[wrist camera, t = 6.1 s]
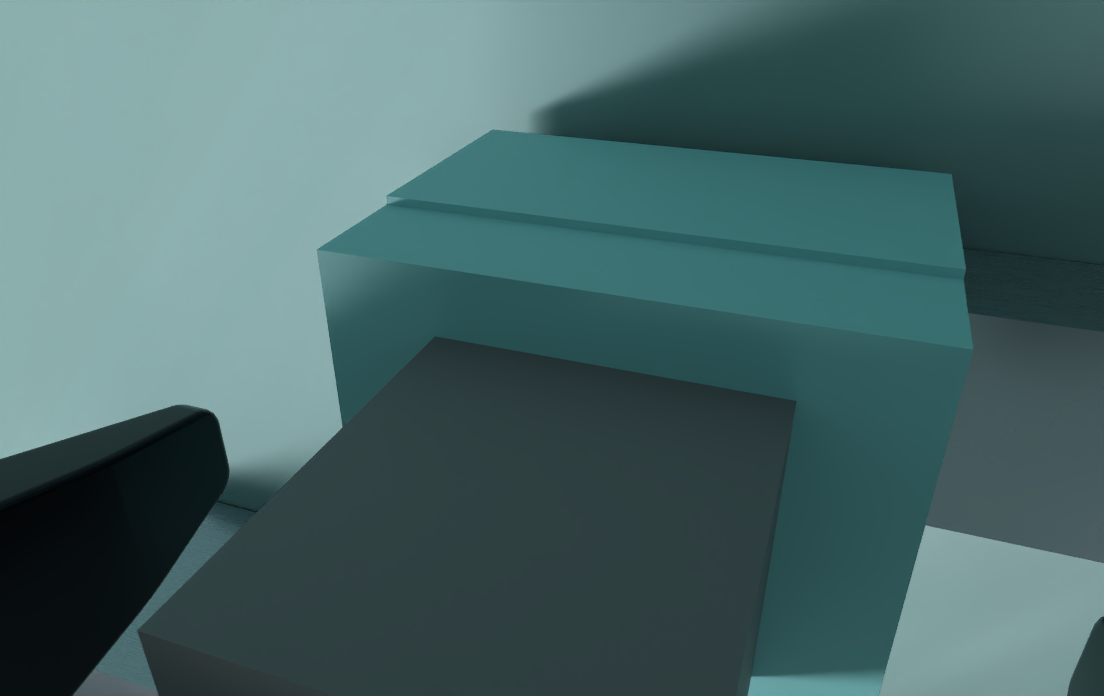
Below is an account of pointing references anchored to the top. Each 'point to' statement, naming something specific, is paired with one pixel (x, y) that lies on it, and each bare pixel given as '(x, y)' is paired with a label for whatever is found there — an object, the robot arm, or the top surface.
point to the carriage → (604, 436)
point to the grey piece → (123, 674)
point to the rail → (1029, 408)
